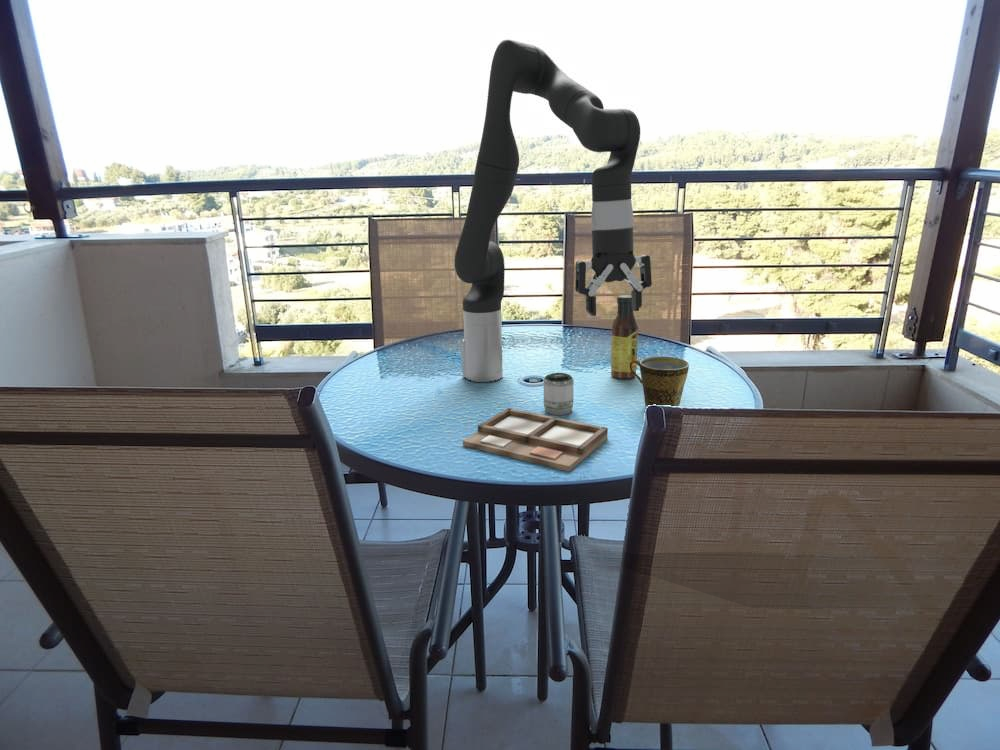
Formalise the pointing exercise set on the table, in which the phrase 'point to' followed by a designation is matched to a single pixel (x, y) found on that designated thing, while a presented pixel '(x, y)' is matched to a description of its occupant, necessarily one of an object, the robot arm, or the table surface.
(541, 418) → the board
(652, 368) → the ceramic cup
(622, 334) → the sauce bottle
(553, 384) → the camera lens
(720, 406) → the table surface
